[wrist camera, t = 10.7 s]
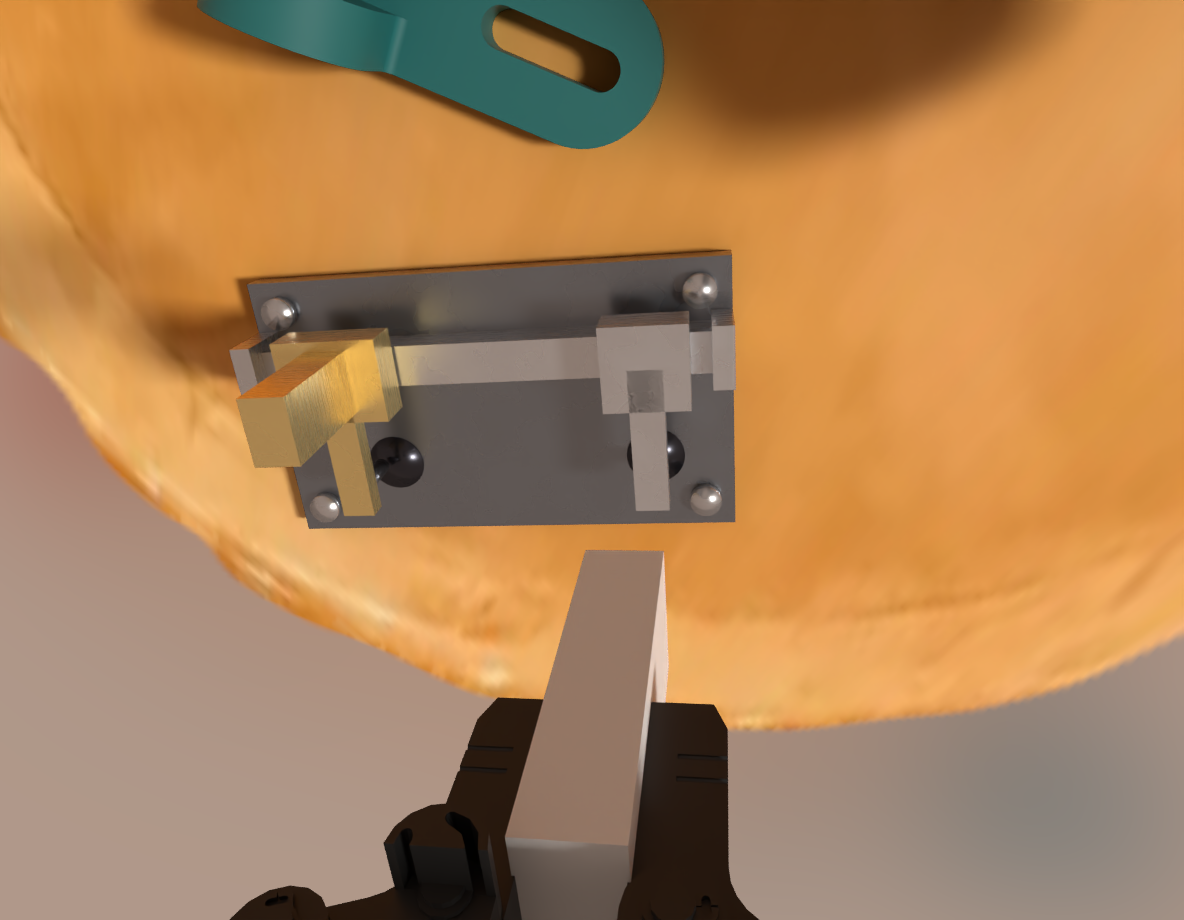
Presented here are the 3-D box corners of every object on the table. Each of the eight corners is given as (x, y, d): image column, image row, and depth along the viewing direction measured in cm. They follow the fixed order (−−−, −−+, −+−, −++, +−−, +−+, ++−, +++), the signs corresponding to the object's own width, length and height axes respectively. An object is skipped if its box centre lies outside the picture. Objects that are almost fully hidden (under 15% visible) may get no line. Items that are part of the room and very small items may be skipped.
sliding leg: (304, 322, 41) (197, 388, 32) (399, 317, 41) (316, 383, 32) (342, 483, 45) (254, 581, 36) (429, 481, 44) (362, 581, 35)
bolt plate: (258, 279, 42) (240, 287, 41) (730, 250, 39) (732, 257, 37) (317, 518, 48) (304, 533, 46) (734, 511, 45) (735, 527, 43)
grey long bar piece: (256, 323, 42) (212, 347, 38) (732, 297, 39) (736, 321, 35) (297, 481, 46) (260, 517, 42) (734, 470, 42) (738, 509, 38)
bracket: (262, 12, 37) (159, -4, 30) (292, -160, 34) (186, -222, 27) (629, 168, 38) (613, 188, 31) (689, 13, 35) (686, -3, 28)
